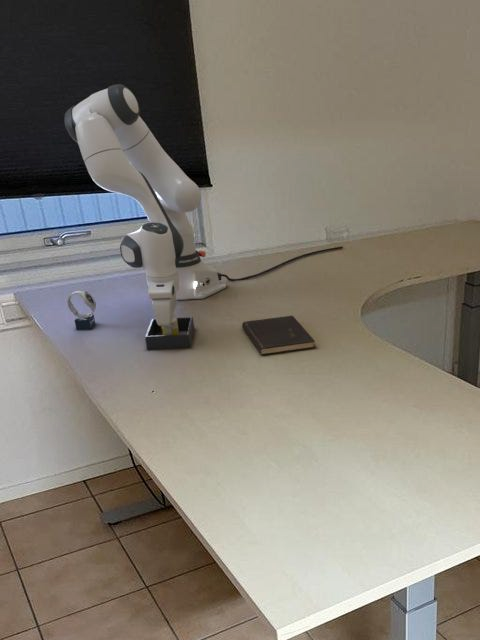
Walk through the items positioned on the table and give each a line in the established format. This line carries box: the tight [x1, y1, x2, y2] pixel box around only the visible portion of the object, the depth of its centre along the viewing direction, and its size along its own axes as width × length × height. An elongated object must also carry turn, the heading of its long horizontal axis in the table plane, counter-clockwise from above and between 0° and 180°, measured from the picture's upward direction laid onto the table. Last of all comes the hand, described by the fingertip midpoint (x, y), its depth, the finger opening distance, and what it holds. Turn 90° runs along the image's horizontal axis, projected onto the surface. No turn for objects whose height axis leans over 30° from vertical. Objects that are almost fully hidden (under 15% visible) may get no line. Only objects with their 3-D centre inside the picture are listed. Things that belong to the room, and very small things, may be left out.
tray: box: [144, 316, 195, 351], centre depth 220 cm, size 15×12×4 cm
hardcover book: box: [242, 315, 316, 357], centre depth 220 cm, size 16×23×2 cm
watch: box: [66, 290, 97, 331], centre depth 228 cm, size 6×8×11 cm
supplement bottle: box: [161, 311, 180, 335], centre depth 219 cm, size 5×5×8 cm
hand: (170, 330), depth 219 cm, fingers closed on supplement bottle, 5 cm apart
